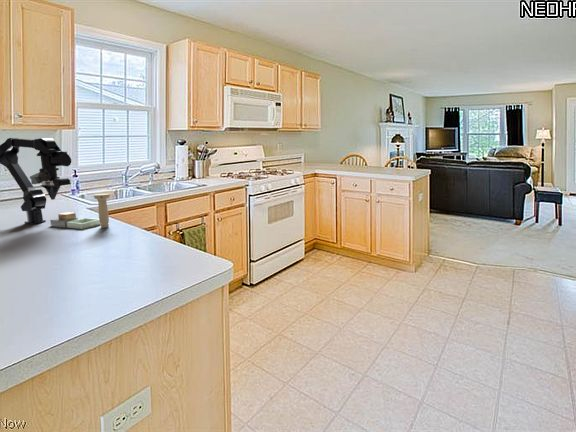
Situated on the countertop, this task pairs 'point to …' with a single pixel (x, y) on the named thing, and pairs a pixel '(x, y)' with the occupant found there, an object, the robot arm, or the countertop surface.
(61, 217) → the tan block
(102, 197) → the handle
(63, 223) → the slate platform
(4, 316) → the countertop surface
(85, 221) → the tray
